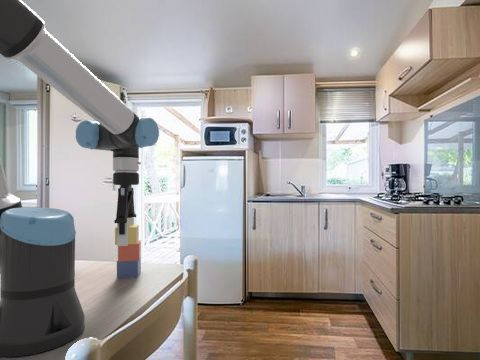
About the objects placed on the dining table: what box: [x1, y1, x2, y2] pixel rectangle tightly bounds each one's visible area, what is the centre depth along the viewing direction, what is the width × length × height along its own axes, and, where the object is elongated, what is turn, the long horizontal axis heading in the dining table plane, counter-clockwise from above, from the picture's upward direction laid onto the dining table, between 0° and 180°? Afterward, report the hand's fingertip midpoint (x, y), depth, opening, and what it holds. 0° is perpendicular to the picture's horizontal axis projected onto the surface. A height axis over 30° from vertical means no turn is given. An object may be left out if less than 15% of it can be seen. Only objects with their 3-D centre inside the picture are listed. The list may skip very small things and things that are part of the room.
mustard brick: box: [114, 224, 140, 246], centre depth 98 cm, size 6×6×5 cm
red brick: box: [117, 239, 142, 262], centre depth 98 cm, size 6×6×5 cm
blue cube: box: [116, 256, 142, 279], centre depth 98 cm, size 6×6×5 cm
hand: (126, 241), depth 97 cm, fingers open, 13 cm apart
